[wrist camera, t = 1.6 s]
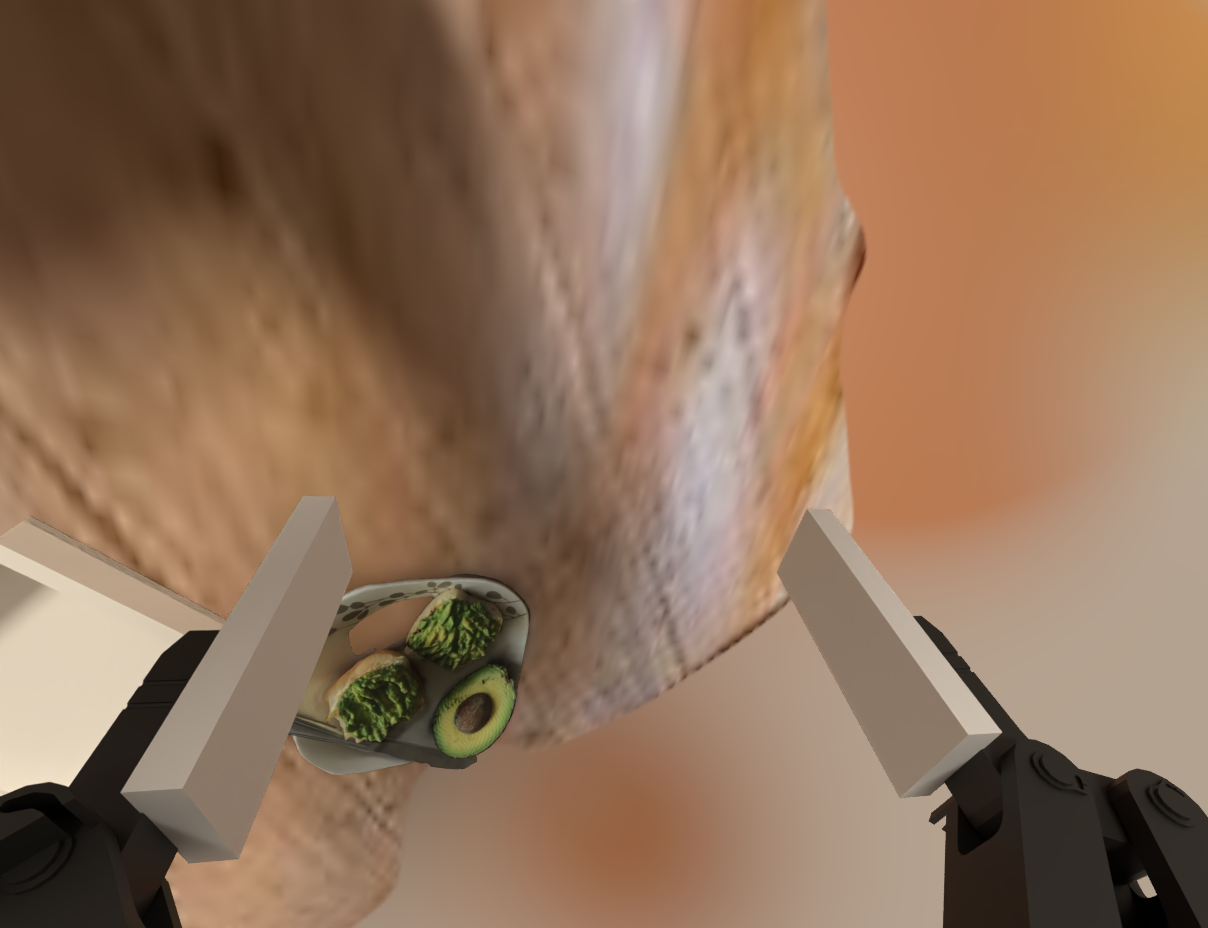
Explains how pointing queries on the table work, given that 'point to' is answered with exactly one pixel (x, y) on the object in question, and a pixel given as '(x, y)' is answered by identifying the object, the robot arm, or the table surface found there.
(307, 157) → the table surface
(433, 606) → the salad plate
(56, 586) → the cream square tray
